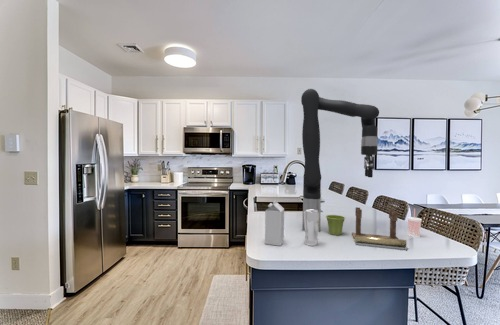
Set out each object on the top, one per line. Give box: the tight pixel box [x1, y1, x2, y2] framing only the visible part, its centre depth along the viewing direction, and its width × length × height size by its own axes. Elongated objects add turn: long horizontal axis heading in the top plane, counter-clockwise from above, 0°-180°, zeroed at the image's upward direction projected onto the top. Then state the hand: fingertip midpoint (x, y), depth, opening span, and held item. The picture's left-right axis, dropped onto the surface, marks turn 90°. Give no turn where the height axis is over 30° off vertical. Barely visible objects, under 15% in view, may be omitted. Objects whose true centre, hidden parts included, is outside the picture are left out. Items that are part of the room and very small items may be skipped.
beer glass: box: [304, 209, 321, 247], centre depth 107 cm, size 7×7×15 cm
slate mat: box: [353, 239, 408, 251], centre depth 106 cm, size 20×6×1 cm, turn 73°
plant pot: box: [325, 214, 346, 236], centre depth 122 cm, size 9×9×9 cm
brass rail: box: [354, 235, 407, 248], centre depth 106 cm, size 20×3×3 cm, turn 73°
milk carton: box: [264, 199, 285, 247], centre depth 107 cm, size 7×7×19 cm
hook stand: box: [351, 206, 399, 240], centre depth 114 cm, size 20×7×14 cm, turn 73°
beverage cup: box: [406, 208, 423, 238], centre depth 120 cm, size 6×6×14 cm
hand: (368, 176), depth 123 cm, fingers open, 8 cm apart
